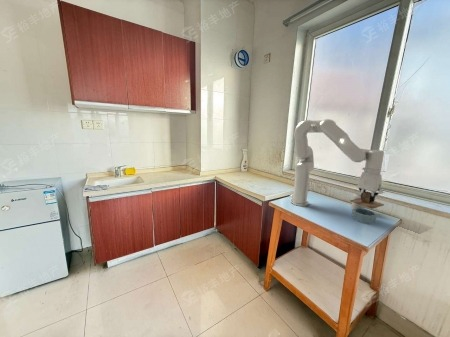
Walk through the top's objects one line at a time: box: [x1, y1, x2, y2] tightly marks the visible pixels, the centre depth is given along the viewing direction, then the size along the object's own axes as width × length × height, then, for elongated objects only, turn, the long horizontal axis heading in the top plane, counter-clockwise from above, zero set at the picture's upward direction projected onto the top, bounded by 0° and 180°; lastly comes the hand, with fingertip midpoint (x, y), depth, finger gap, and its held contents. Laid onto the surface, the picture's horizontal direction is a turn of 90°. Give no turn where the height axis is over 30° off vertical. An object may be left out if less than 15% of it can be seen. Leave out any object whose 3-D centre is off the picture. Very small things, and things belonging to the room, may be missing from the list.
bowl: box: [351, 208, 378, 225], centre depth 116 cm, size 11×11×5 cm
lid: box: [350, 190, 385, 210], centre depth 114 cm, size 12×12×7 cm
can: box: [351, 192, 366, 211], centre depth 128 cm, size 8×8×12 cm
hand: (367, 200), depth 114 cm, fingers closed on lid, 4 cm apart
